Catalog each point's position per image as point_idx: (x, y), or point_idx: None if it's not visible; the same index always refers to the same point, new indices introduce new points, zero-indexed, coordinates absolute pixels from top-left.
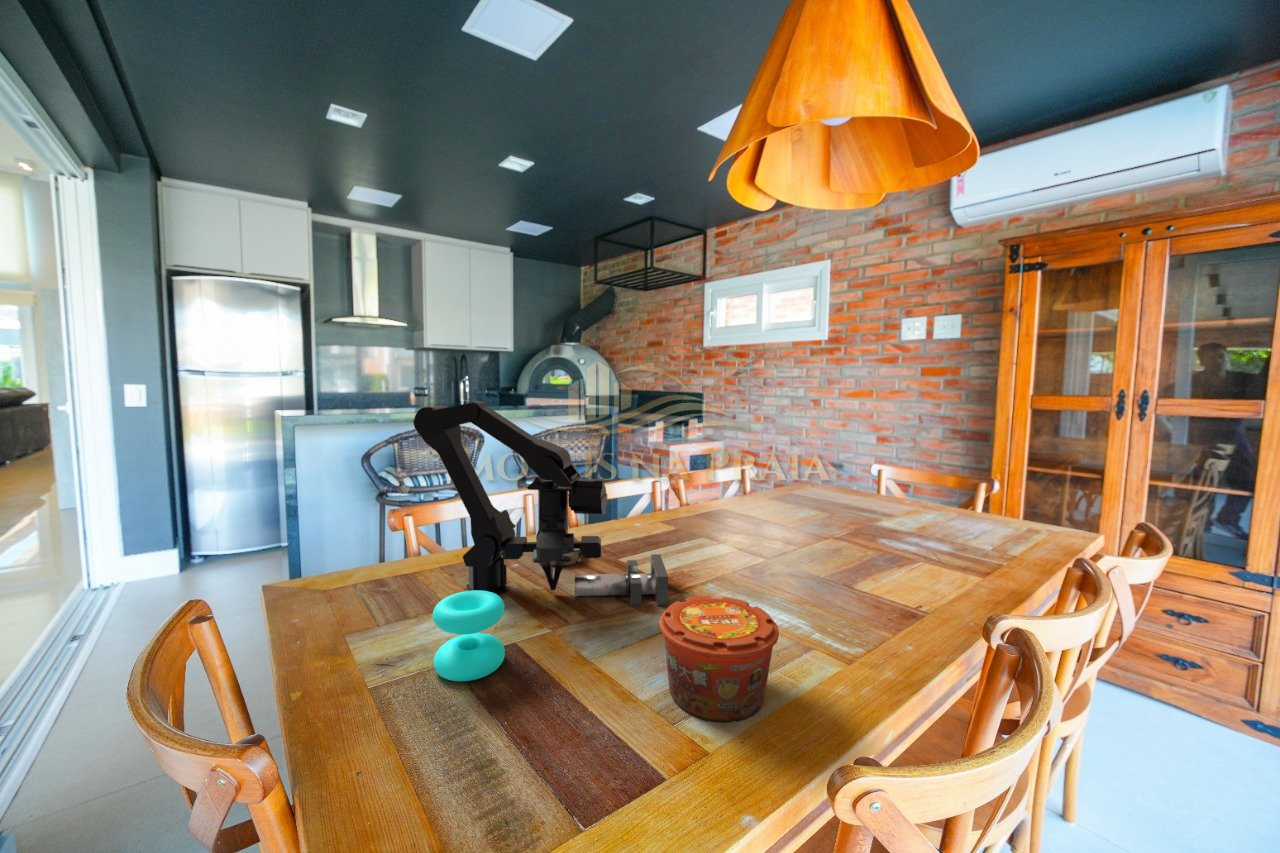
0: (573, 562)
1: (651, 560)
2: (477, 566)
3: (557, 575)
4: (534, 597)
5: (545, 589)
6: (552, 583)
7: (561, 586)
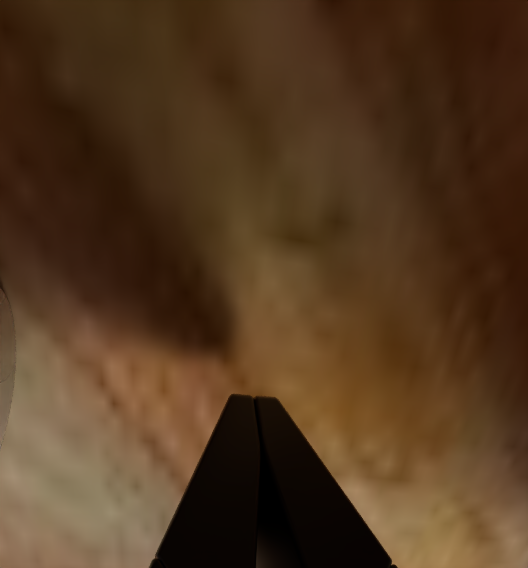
0: None
1: None
2: None
3: (195, 558)
4: (431, 346)
5: None
6: (269, 452)
7: (164, 500)
